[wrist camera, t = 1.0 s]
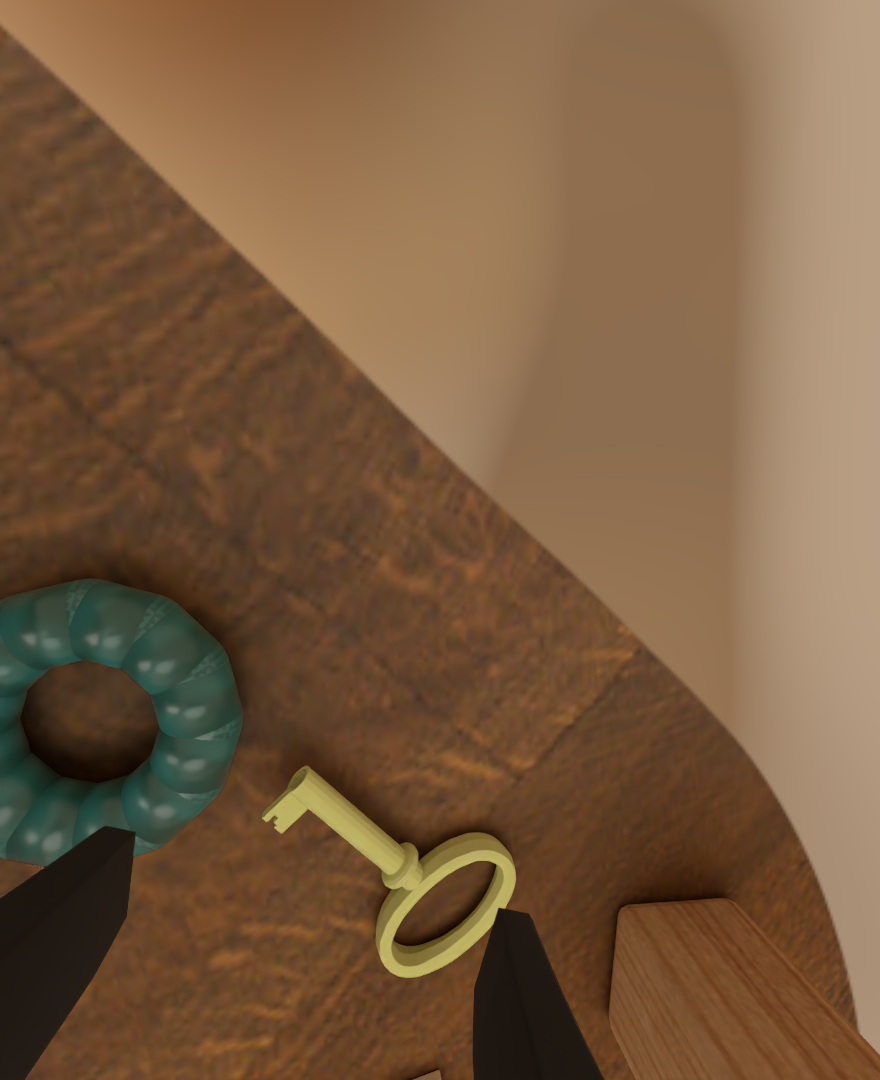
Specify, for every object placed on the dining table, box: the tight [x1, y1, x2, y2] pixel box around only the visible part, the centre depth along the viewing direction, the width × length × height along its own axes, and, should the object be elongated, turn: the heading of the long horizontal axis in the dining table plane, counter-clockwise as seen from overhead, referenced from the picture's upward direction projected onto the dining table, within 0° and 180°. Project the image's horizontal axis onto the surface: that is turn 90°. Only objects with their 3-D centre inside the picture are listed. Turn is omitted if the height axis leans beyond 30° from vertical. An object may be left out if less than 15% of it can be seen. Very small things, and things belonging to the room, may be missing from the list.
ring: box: [0, 578, 244, 867], centre depth 21 cm, size 11×11×3 cm
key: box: [262, 766, 516, 978], centre depth 24 cm, size 7×12×2 cm, turn 60°
